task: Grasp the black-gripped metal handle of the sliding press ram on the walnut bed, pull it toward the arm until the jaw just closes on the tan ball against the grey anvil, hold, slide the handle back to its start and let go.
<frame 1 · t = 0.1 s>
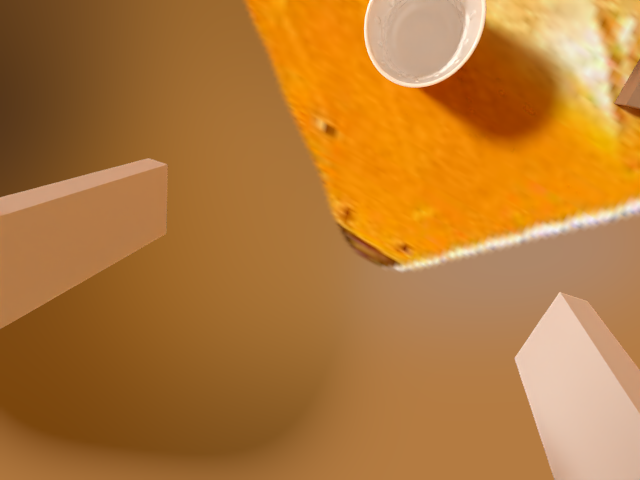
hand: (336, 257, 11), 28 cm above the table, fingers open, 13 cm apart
white cup: (422, 40, 32), on the table
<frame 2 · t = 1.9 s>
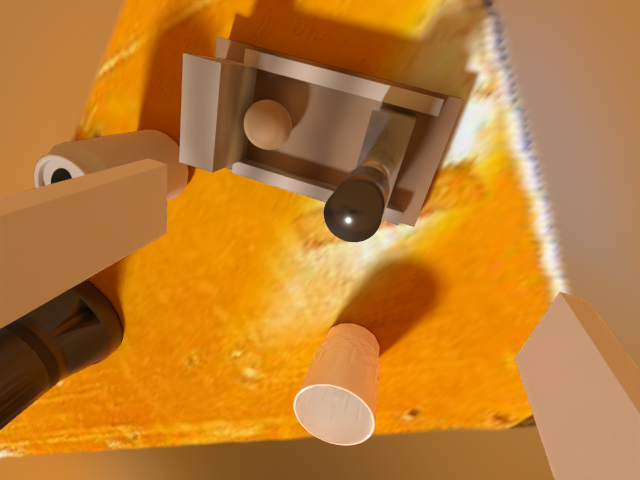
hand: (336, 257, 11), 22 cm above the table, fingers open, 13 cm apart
white cup: (352, 344, 41), on the table
ram: (373, 175, 22), point 10 cm above the table, slide at 0.0 cm
tan ball: (276, 123, 31), point 2 cm above the table, touching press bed
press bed: (324, 132, 32), on the table
can: (164, 163, 38), on the table
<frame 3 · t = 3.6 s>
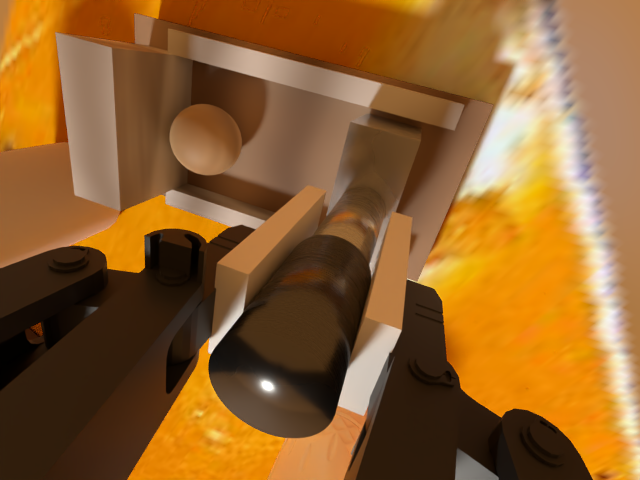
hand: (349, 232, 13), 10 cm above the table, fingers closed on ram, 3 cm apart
white cup: (337, 413, 32), on the table
ram: (349, 233, 13), point 10 cm above the table, slide at 0.0 cm, touching gripper
tan ball: (224, 136, 22), point 2 cm above the table, touching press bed
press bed: (293, 148, 23), on the table
can: (93, 185, 29), on the table
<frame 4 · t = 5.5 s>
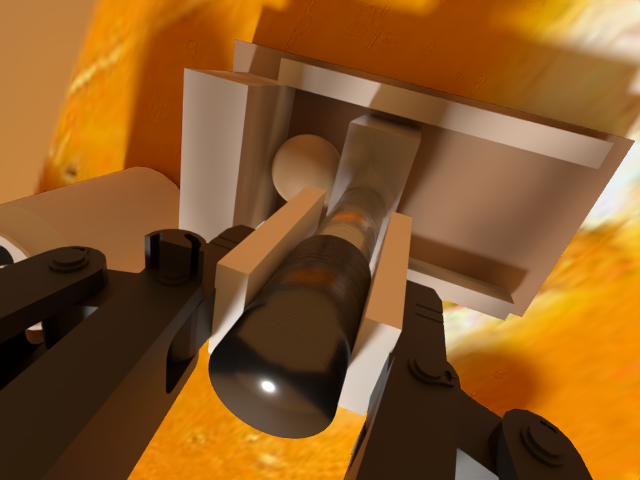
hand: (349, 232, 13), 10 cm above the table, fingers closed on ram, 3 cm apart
ram: (349, 233, 13), point 10 cm above the table, slide at 6.6 cm, touching gripper
tan ball: (322, 165, 21), point 2 cm above the table, tilted 9°, touching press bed
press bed: (388, 176, 22), on the table
can: (160, 208, 28), on the table
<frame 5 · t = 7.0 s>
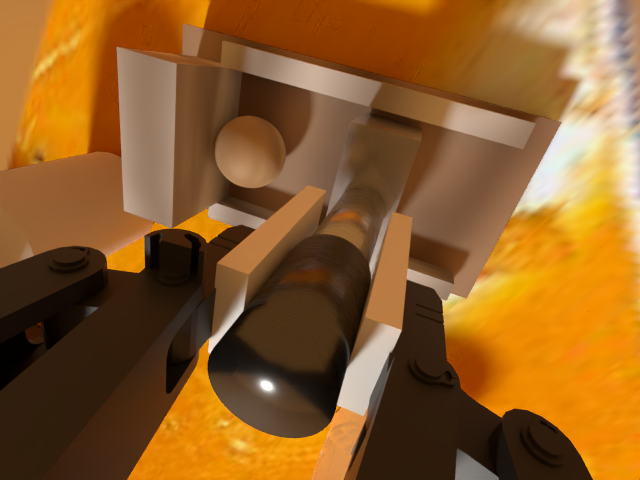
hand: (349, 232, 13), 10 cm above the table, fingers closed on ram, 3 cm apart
white cup: (369, 425, 32), on the table
ram: (349, 232, 13), point 10 cm above the table, slide at 3.2 cm, touching gripper
tan ball: (271, 149, 21), point 2 cm above the table, tilted 12°, touching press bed
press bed: (339, 161, 22), on the table
can: (125, 194, 29), on the table
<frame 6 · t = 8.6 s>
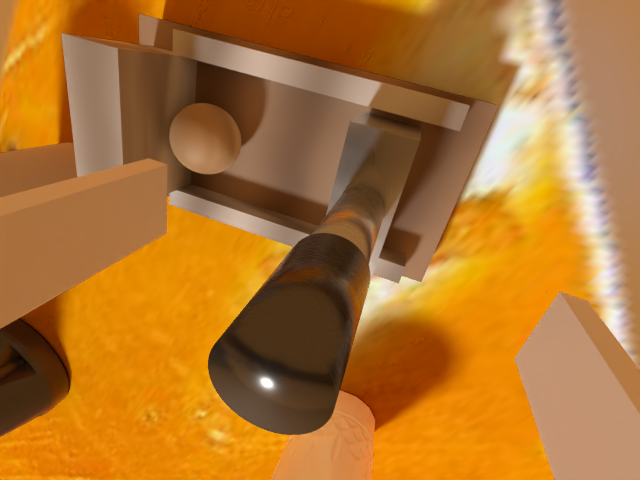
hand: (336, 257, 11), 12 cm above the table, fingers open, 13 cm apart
white cup: (340, 413, 32), on the table
ram: (348, 232, 13), point 10 cm above the table, slide at 0.3 cm
tan ball: (228, 136, 22), point 2 cm above the table, tilted 9°, touching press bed
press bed: (297, 148, 23), on the table
can: (96, 185, 29), on the table
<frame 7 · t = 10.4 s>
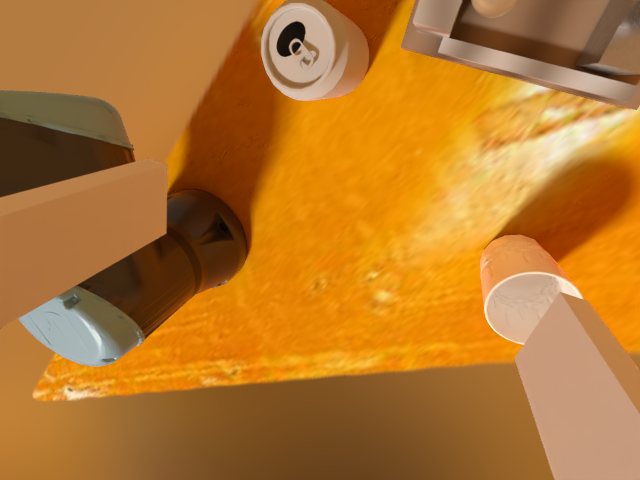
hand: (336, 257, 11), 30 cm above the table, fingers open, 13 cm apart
white cup: (511, 259, 40), on the table
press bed: (539, 10, 30), on the table
can: (336, 59, 37), on the table
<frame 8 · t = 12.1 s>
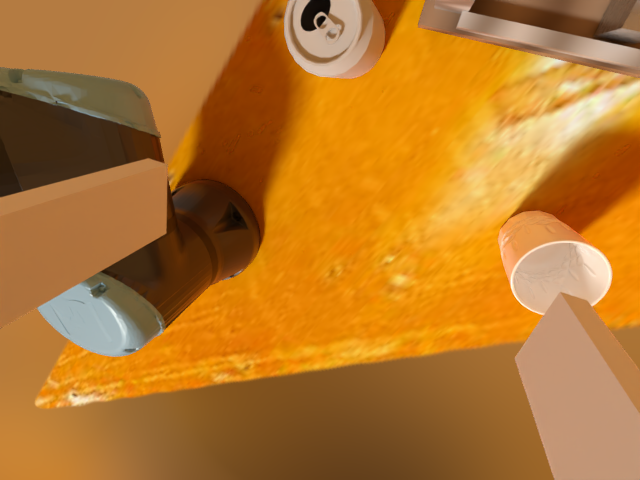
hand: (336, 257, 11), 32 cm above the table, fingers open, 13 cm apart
white cup: (529, 236, 40), on the table
can: (351, 40, 37), on the table
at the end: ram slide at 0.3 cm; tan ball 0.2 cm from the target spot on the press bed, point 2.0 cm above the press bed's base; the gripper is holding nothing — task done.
